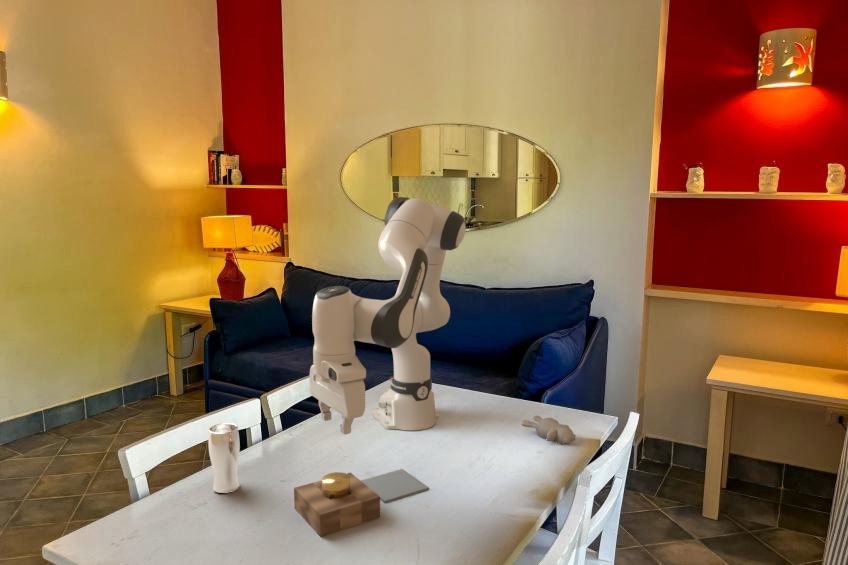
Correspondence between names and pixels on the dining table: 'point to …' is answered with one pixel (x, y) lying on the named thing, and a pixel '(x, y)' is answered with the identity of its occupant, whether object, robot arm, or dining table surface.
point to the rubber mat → (394, 485)
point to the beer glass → (224, 456)
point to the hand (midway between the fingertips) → (335, 426)
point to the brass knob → (336, 485)
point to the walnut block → (336, 506)
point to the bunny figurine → (551, 430)
